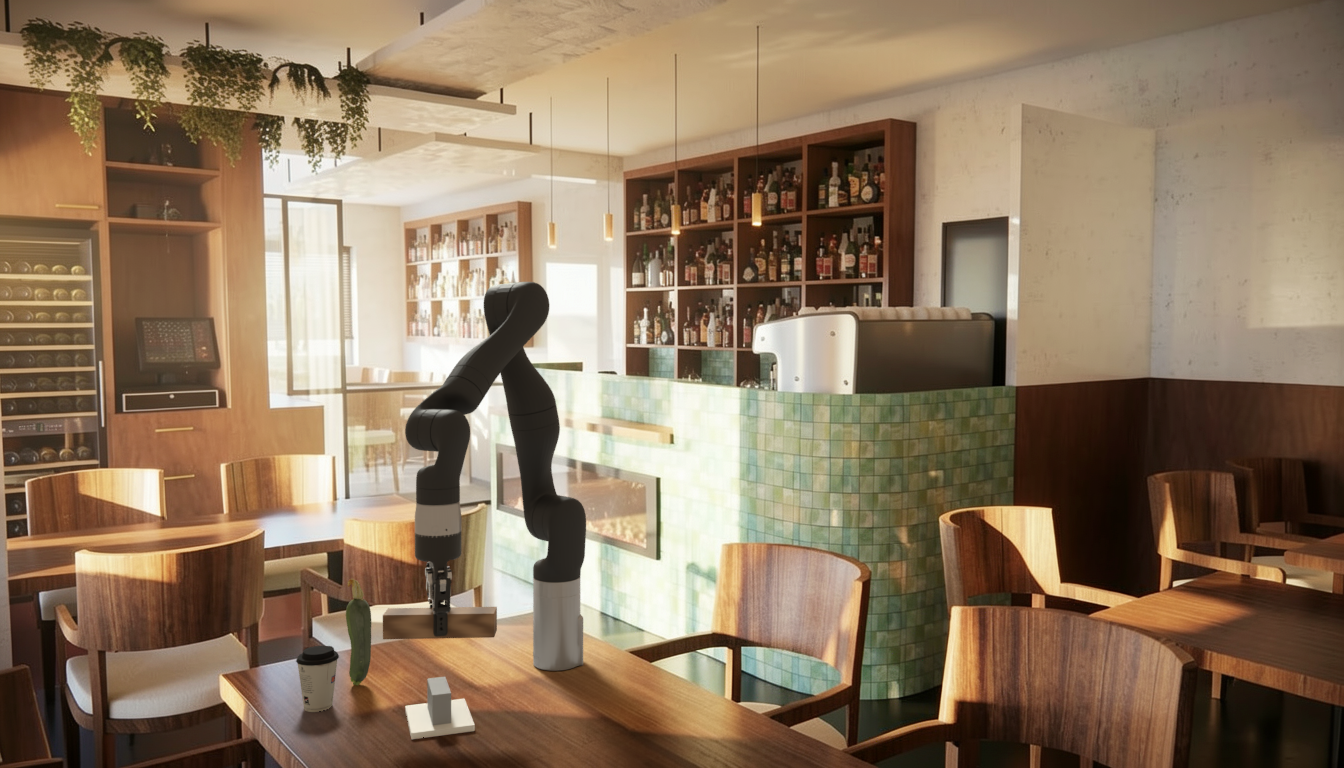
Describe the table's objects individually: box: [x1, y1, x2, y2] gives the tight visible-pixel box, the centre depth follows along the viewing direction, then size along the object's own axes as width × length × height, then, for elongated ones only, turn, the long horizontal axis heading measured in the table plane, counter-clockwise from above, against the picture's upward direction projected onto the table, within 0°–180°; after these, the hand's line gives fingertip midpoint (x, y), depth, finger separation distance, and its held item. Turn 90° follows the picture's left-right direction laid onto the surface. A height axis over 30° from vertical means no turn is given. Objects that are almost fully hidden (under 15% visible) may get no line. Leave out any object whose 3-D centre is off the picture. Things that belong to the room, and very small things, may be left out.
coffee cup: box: [295, 645, 340, 713], centre depth 164 cm, size 7×7×10 cm
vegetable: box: [345, 578, 372, 686], centre depth 173 cm, size 4×4×20 cm
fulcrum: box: [404, 676, 476, 740], centre depth 158 cm, size 10×12×6 cm
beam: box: [382, 606, 498, 640], centre depth 158 cm, size 18×4×4 cm, turn 94°
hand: (438, 630), depth 158 cm, fingers closed on beam, 4 cm apart
